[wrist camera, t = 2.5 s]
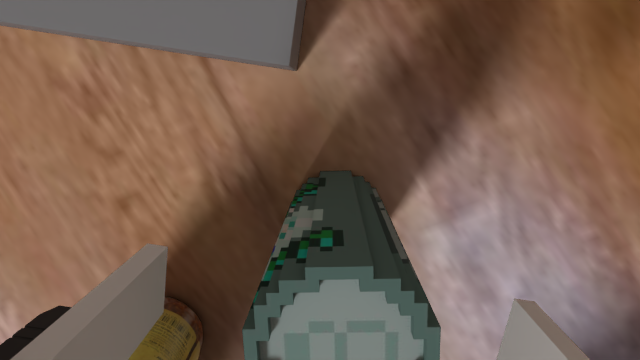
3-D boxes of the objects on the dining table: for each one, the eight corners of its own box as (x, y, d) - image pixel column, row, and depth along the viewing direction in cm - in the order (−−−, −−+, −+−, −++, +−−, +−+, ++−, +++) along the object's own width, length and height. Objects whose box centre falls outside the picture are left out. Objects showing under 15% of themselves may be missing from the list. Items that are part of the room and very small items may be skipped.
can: (290, 172, 26) (237, 268, 12) (381, 169, 26) (442, 265, 12) (294, 257, 28) (251, 439, 13) (381, 255, 27) (436, 439, 13)
